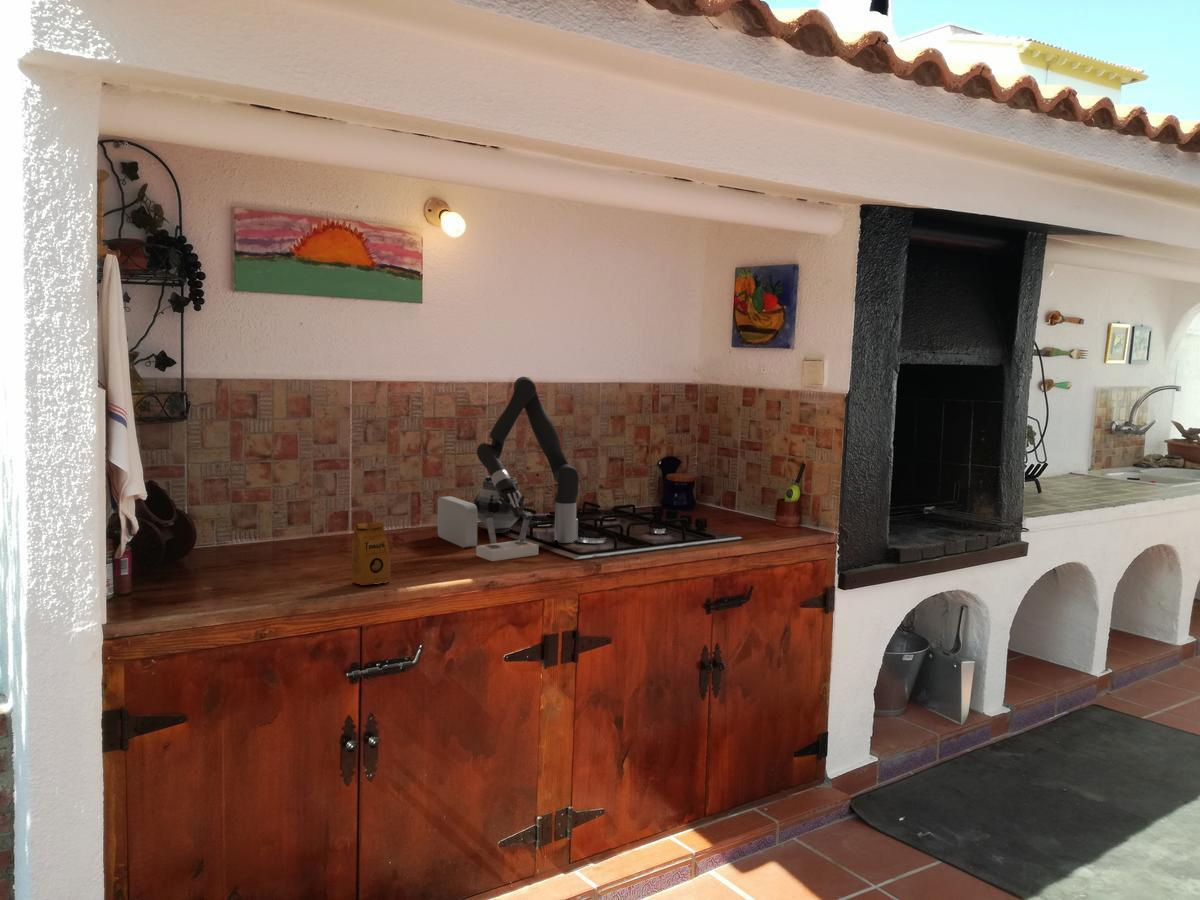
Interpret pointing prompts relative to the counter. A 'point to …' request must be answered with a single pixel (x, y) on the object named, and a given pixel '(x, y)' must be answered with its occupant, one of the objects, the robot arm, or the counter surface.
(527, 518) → the lever
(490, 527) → the lever
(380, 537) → the coffee package
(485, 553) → the switch unit
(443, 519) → the rounded white slab
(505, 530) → the ceramic pot
